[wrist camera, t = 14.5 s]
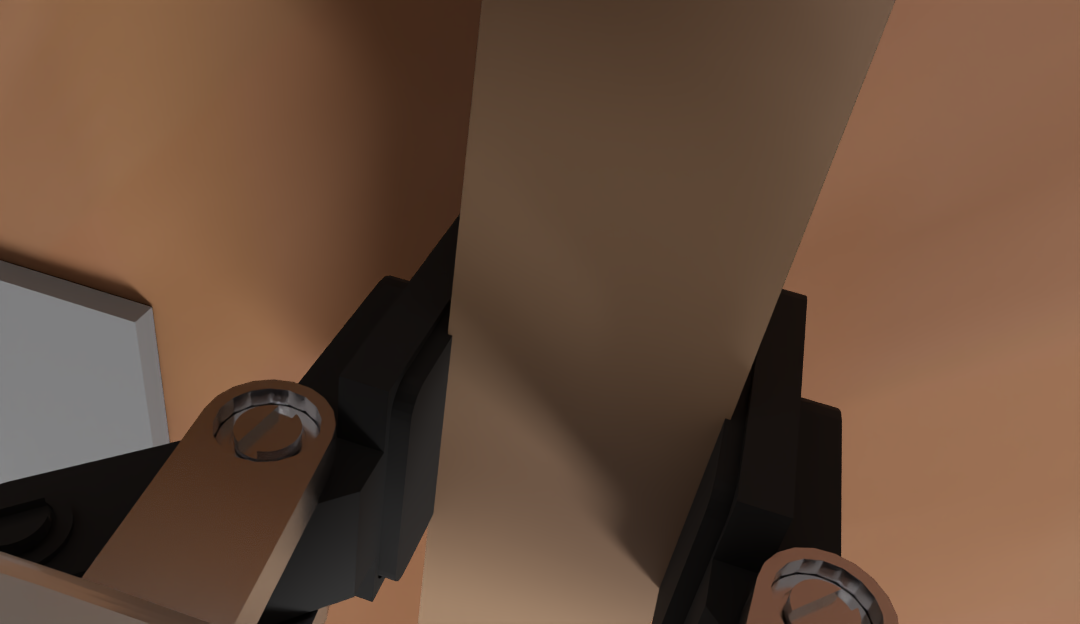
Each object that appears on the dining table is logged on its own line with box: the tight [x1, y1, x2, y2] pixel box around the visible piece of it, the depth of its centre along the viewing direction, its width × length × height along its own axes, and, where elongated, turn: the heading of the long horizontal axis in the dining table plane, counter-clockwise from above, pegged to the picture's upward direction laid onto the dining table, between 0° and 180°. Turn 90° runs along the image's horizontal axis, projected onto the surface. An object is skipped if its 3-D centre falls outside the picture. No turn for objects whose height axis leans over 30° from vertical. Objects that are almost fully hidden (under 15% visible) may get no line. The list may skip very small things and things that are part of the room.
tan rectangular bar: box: [418, 0, 895, 624], centre depth 12 cm, size 18×3×4 cm, turn 171°
